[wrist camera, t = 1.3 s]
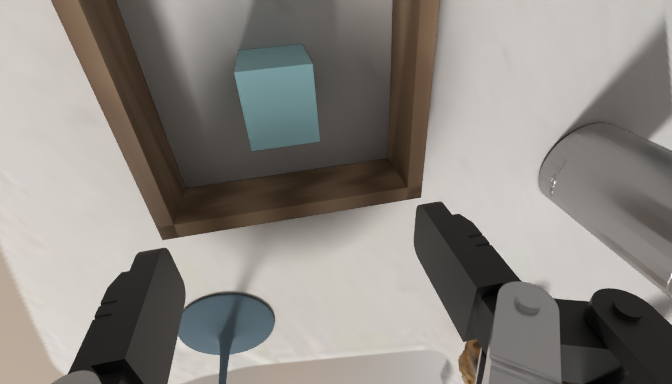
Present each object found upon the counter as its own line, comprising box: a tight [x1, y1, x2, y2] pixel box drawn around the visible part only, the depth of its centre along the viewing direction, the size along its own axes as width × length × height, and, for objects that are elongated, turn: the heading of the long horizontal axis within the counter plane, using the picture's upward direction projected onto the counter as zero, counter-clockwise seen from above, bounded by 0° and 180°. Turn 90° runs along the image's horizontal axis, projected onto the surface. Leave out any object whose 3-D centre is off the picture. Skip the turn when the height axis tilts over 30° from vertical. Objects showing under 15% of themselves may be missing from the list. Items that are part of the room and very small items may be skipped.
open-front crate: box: [51, 0, 440, 240], centre depth 24 cm, size 20×17×5 cm
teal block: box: [234, 44, 320, 151], centre depth 24 cm, size 4×5×6 cm
